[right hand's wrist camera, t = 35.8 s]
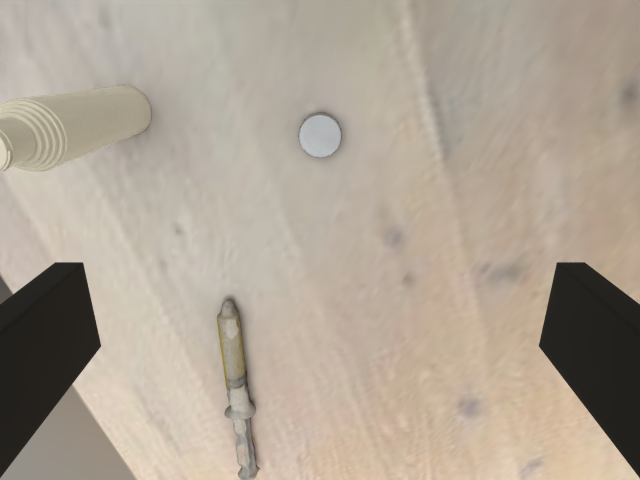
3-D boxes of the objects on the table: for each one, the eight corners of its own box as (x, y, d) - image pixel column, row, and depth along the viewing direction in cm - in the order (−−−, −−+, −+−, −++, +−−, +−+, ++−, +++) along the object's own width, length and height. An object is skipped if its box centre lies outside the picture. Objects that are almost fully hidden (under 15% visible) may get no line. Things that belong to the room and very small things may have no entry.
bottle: (102, 129, 43) (-60, 180, 24) (104, 80, 41) (-68, 96, 23) (149, 139, 43) (25, 197, 25) (153, 91, 41) (23, 116, 23)
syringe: (216, 295, 49) (210, 308, 47) (250, 296, 49) (246, 309, 47) (232, 463, 59) (228, 481, 56) (261, 463, 58) (258, 482, 56)
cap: (344, 115, 42) (345, 117, 40) (337, 156, 44) (338, 161, 42) (302, 108, 42) (301, 111, 40) (297, 150, 43) (295, 154, 41)
